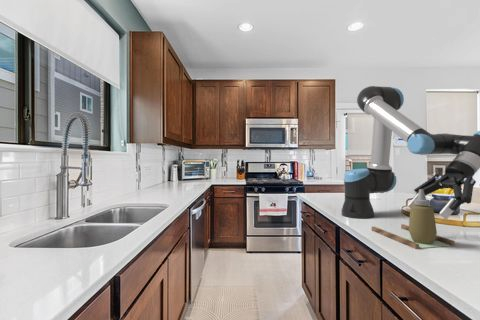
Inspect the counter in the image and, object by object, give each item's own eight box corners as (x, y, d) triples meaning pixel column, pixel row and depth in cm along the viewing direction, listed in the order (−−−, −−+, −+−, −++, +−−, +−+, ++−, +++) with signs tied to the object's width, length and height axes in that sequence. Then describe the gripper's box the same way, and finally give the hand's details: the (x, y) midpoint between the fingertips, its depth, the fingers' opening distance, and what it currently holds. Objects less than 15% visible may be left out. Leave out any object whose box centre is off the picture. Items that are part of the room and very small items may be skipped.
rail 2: (401, 228, 107) (401, 224, 107) (403, 228, 107) (403, 224, 107) (451, 245, 85) (451, 241, 85) (454, 245, 85) (454, 241, 85)
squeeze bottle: (443, 245, 85) (442, 190, 85) (418, 245, 85) (417, 191, 85) (426, 237, 93) (425, 187, 93) (403, 238, 93) (402, 188, 93)
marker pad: (397, 239, 93) (397, 238, 93) (424, 236, 95) (424, 236, 95) (420, 248, 84) (420, 247, 84) (450, 245, 85) (450, 245, 85)
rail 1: (371, 230, 105) (371, 226, 105) (374, 230, 105) (374, 226, 105) (415, 248, 83) (415, 244, 83) (418, 248, 83) (418, 244, 83)
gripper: (426, 159, 103) (392, 199, 102) (495, 160, 79) (451, 212, 77) (439, 172, 104) (405, 211, 102) (510, 176, 79) (468, 228, 78)
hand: (425, 212), depth 90 cm, fingers open, 13 cm apart
